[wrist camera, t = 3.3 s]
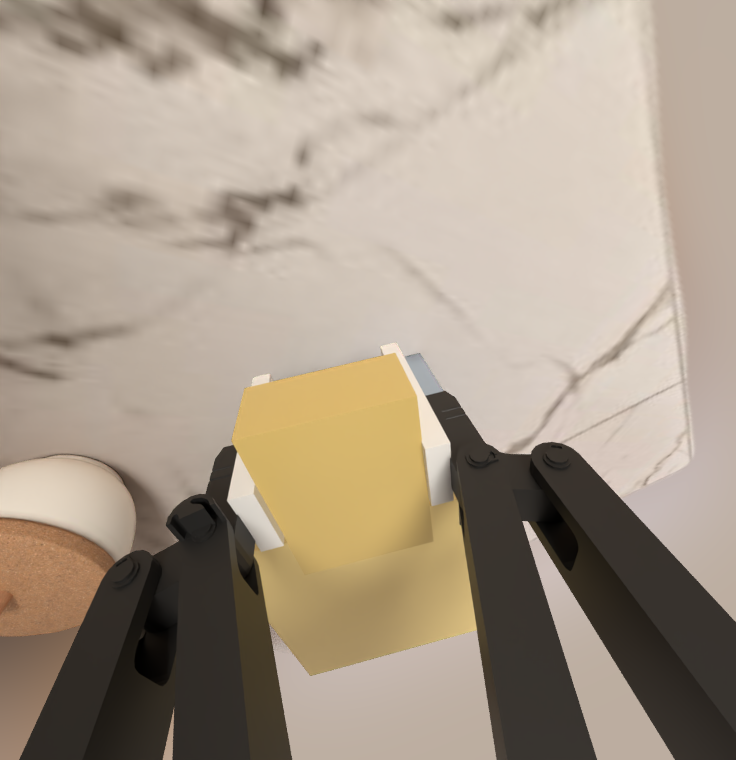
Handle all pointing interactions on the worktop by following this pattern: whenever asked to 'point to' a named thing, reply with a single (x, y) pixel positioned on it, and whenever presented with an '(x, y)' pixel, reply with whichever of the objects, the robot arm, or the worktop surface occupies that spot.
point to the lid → (352, 516)
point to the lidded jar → (58, 540)
